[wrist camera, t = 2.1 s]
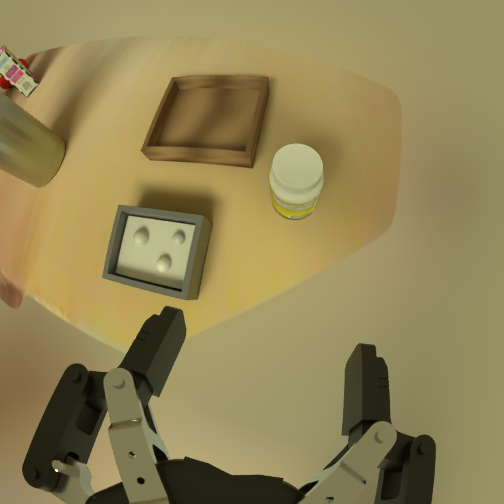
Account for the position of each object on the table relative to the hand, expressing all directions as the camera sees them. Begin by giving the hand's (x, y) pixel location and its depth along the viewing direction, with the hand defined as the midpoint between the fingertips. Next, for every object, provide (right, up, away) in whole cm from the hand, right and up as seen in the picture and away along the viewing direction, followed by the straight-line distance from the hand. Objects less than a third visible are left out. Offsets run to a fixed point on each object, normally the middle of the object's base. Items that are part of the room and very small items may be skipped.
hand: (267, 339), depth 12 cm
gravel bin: (-10, +4, +17) cm, 20 cm away
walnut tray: (-6, +20, +19) cm, 28 cm away
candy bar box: (-58, +47, +29) cm, 80 cm away
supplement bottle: (+4, +9, +17) cm, 19 cm away
